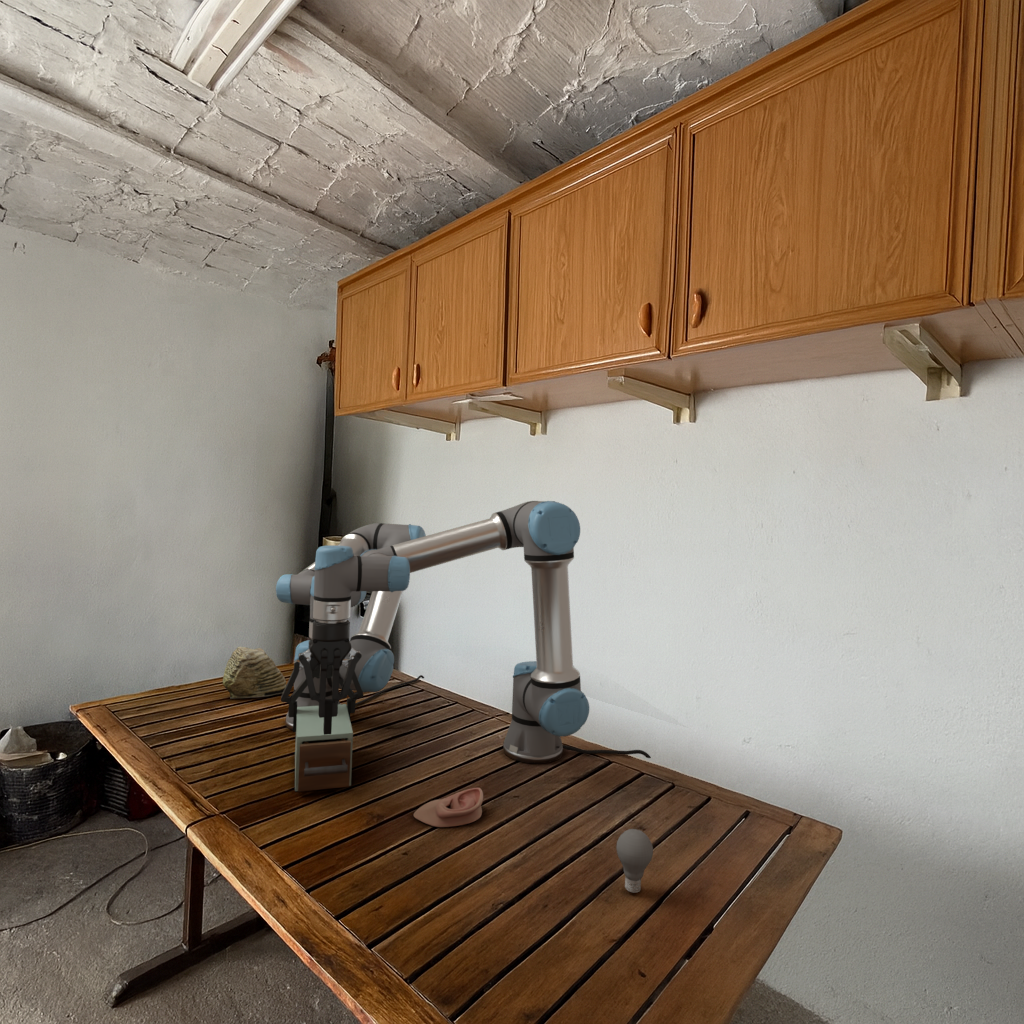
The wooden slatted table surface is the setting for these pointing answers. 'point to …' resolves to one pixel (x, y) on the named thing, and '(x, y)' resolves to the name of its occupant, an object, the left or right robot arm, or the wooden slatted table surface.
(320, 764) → the drawer
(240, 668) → the fossil
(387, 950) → the wooden slatted table surface
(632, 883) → the light bulb
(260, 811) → the wooden slatted table surface
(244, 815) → the wooden slatted table surface
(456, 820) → the anatomical model
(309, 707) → the cabinet
